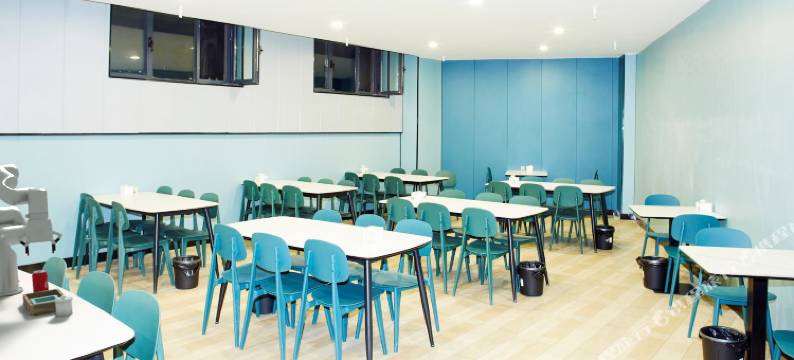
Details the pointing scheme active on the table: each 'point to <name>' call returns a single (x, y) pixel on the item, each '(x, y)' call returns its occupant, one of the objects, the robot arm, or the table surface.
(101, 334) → the table surface
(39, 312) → the caddy
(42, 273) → the beverage can
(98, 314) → the table surface
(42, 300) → the socket
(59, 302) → the sugar pot
